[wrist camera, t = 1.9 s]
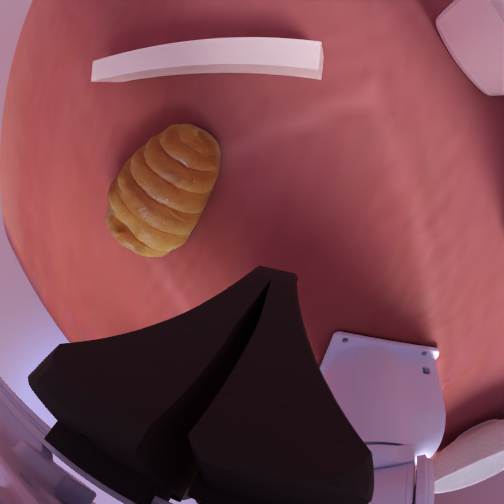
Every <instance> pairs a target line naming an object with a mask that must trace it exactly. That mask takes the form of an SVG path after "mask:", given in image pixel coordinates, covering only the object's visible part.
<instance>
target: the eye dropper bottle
mask: <svg viewBox="0 0 504 504" xmlns="http://www.w3.org/2000/svg"><path fill="white" fill-rule="evenodd" d="M436 27H437V30H438V32H439V34H440V36H441V38H442V40H443V42H444V44H445V46H446V48H447V49H448V51H449V53H450V54H451V56H452V57H453V59H454V60H455V62H456V63H457V65H458V66H459V67H460V68H461V70H462V71H463V72H464V73H465V75H466V76H467V77H468V78H469V79H470V80H471V81H472V82H473V83H474V84H475V85H476V86H477V87H478V88H479V89H480V90H481V91H482V92H483V93H485V94H487V95H489V96H498V95H504V0H454V1H453V2H452V3H451V4H450V5H449V6H448V7H447V8H446V9H445V10H444V11H443V12H442V13H441V14H440V15H439V16H438V17H437V18H436Z"/></svg>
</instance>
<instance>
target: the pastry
mask: <svg viewBox="0 0 504 504" xmlns="http://www.w3.org/2000/svg"><path fill="white" fill-rule="evenodd" d="M220 159H221V151H220V147H219V144H218V142H217V141H216V140H215V139H214V138H213V137H212V136H211V135H210V134H209V133H208V132H207V131H205V130H203V129H200V128H198V127H196V126H194V125H192V124H174V125H171V126H170V127H168V128H167V129H166V130H164V131H163V132H162V133H160V134H159V135H157V136H154V137H151V138H150V139H149V141H148V142H147V143H146V144H145V145H144V146H143V147H141V148H140V149H138V150H137V151H136V152H135V153H134V154H133V156H132V157H131V158H129V160H127V161H126V162H125V163H124V165H123V167H122V169H121V171H120V172H119V174H118V179H117V180H114V181H113V182H112V183H111V185H110V189H109V192H108V200H109V206H108V213H107V216H106V221H107V226H108V228H109V230H110V232H111V234H112V235H113V236H114V237H115V238H116V240H117V241H118V242H119V243H120V244H121V245H122V246H124V247H126V248H128V249H131V250H133V251H134V252H135V253H136V254H139V255H142V256H146V257H162V256H165V255H167V254H168V253H169V252H170V251H171V250H173V249H176V248H178V247H180V246H181V245H183V244H184V243H185V242H186V241H187V239H188V237H189V235H190V233H191V232H192V230H193V229H194V227H195V225H196V224H197V223H198V221H199V219H200V217H201V215H202V213H203V210H204V208H205V205H206V203H207V201H208V199H209V196H210V193H211V191H212V189H213V186H214V184H215V182H216V180H217V177H218V174H219V170H220Z"/></svg>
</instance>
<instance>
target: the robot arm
mask: <svg viewBox="0 0 504 504" xmlns="http://www.w3.org/2000/svg"><path fill="white" fill-rule="evenodd" d="M297 279H298V277H297V276H296V274H294V273H289V272H285V271H280V270H276V269H272V268H267V267H263V266H258V267H257V268H255V269H254V270H252V271H251V272H250V273H248V274H247V275H246V276H244V277H243V278H242V279H240V280H239V281H237V282H236V283H235V284H233V285H232V286H230V287H229V288H227V289H226V290H224V291H223V292H221V293H220V294H218V295H216V296H215V297H213V298H211V299H209V300H208V301H206V302H204V303H203V304H201V305H199V306H197V307H195V308H193V309H191V310H189V311H187V312H185V313H183V314H181V315H178V316H176V317H174V318H171V319H169V320H166V321H163V322H161V323H158V324H155V325H152V326H149V327H146V328H143V329H140V330H137V331H133V332H129V333H125V334H122V335H117V336H112V337H108V338H103V339H97V340H90V341H82V342H74V343H65V344H59V346H57V347H56V348H55V349H54V350H53V351H52V352H51V353H50V354H49V355H48V356H47V357H46V358H45V359H44V360H43V361H42V362H41V363H40V364H39V366H38V367H37V368H36V369H35V370H34V371H33V372H32V373H31V374H30V375H29V376H28V382H29V385H30V387H31V388H32V390H33V391H34V393H35V394H36V395H37V397H38V398H39V399H40V400H41V402H42V403H43V404H44V405H45V407H46V408H47V409H48V410H49V411H50V412H51V414H52V415H53V416H54V417H55V418H56V419H57V420H58V421H57V422H56V424H55V425H54V426H53V427H52V428H50V427H49V426H48V425H47V424H46V423H45V422H43V421H42V420H41V419H40V418H39V417H38V416H37V415H36V414H35V413H34V412H33V411H32V410H31V409H29V407H28V406H27V405H26V404H25V403H24V402H23V401H22V400H21V399H20V398H19V397H18V396H17V395H16V394H15V393H14V392H13V391H12V390H11V389H10V387H8V385H7V384H6V383H5V382H4V381H3V380H2V379H1V377H0V504H95V503H94V502H92V501H93V500H94V498H95V497H96V493H95V492H94V491H93V490H91V489H90V488H89V487H87V486H86V485H85V484H84V483H82V482H81V481H79V480H78V479H77V478H75V477H74V476H73V475H71V474H69V473H68V472H67V471H65V470H64V469H63V468H61V467H60V466H59V465H57V464H56V463H55V462H54V461H53V455H52V453H53V454H54V455H55V456H57V457H58V458H59V459H60V460H61V461H63V462H64V463H65V464H66V465H68V466H69V467H70V468H72V469H73V470H74V471H75V472H77V473H78V474H80V475H81V476H82V477H84V478H85V479H87V480H88V481H90V482H91V483H92V484H94V485H95V486H97V487H98V488H100V489H101V490H103V491H104V492H106V493H108V494H109V495H111V496H112V497H114V498H116V499H117V500H119V501H121V502H123V503H124V504H172V503H170V502H169V500H170V498H171V499H174V500H176V501H179V502H181V500H186V499H190V498H193V499H195V500H196V502H197V503H198V504H434V490H435V477H434V463H433V460H431V459H430V458H431V457H432V456H433V454H434V453H435V452H436V450H437V449H438V447H439V445H440V443H441V441H442V438H443V434H444V430H445V423H446V413H445V406H444V400H443V395H442V390H441V384H440V380H439V375H438V370H437V366H436V362H435V359H436V358H437V357H438V355H439V349H438V348H435V347H428V346H421V345H414V344H408V343H402V342H396V341H390V340H384V339H378V338H373V337H367V336H362V335H357V334H351V333H346V332H341V331H338V332H335V333H334V334H333V336H332V339H331V341H330V344H329V346H328V349H327V351H326V354H325V356H324V359H323V361H322V363H321V366H320V368H319V366H318V363H317V361H316V359H315V356H314V354H313V351H312V349H311V346H310V343H309V340H308V337H307V334H306V330H305V327H304V324H303V320H302V316H301V311H300V306H299V301H298V294H297ZM343 338H347V339H343ZM424 351H425V352H424ZM415 465H417V470H416V482H415Z"/></svg>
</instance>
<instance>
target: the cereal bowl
mask: <svg viewBox="0 0 504 504" xmlns="http://www.w3.org/2000/svg"><path fill="white" fill-rule="evenodd" d="M433 463H434V477H435V490H434V493H443V492H449V491H454V490H457V489H461V488H464V487H467V486H470V485H473V484H476V483H478V482H480V481H483V480H485V479H487V478H489V477H491V476H493V475H495V474H497V473H499V472H501V471H502V470H504V419H502V420H499V419H492V420H488V421H485V422H482V423H480V424H477V425H475V426H473V427H471V428H470V429H468V430H466V431H465V432H463V433H462V434H460V435H459V436H458V437H457V438H456V439H455V441H454V442H452V443H451V444H449V445H448V446H446V447H445V448H444V449H443V450H442V451H441V452H440V453H439V454H437V456H436V457H435V458H434V460H433Z"/></svg>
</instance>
